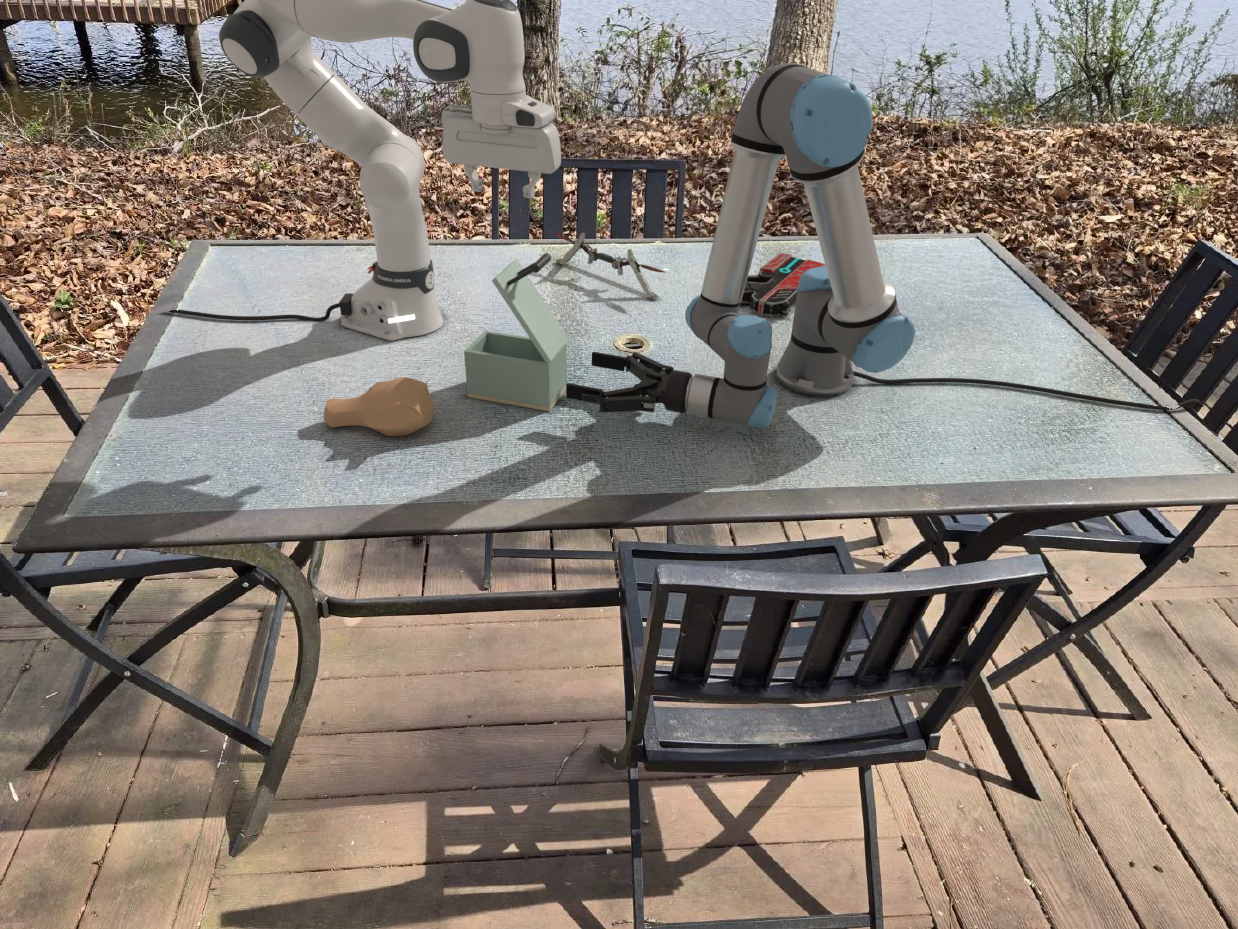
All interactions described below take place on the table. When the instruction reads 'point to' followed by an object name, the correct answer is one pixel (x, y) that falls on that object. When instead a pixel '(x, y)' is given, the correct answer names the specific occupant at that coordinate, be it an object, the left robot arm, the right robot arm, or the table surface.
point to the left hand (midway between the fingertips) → (503, 193)
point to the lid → (531, 307)
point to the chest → (514, 371)
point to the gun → (776, 285)
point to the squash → (385, 408)
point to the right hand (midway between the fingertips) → (579, 373)
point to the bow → (616, 262)
